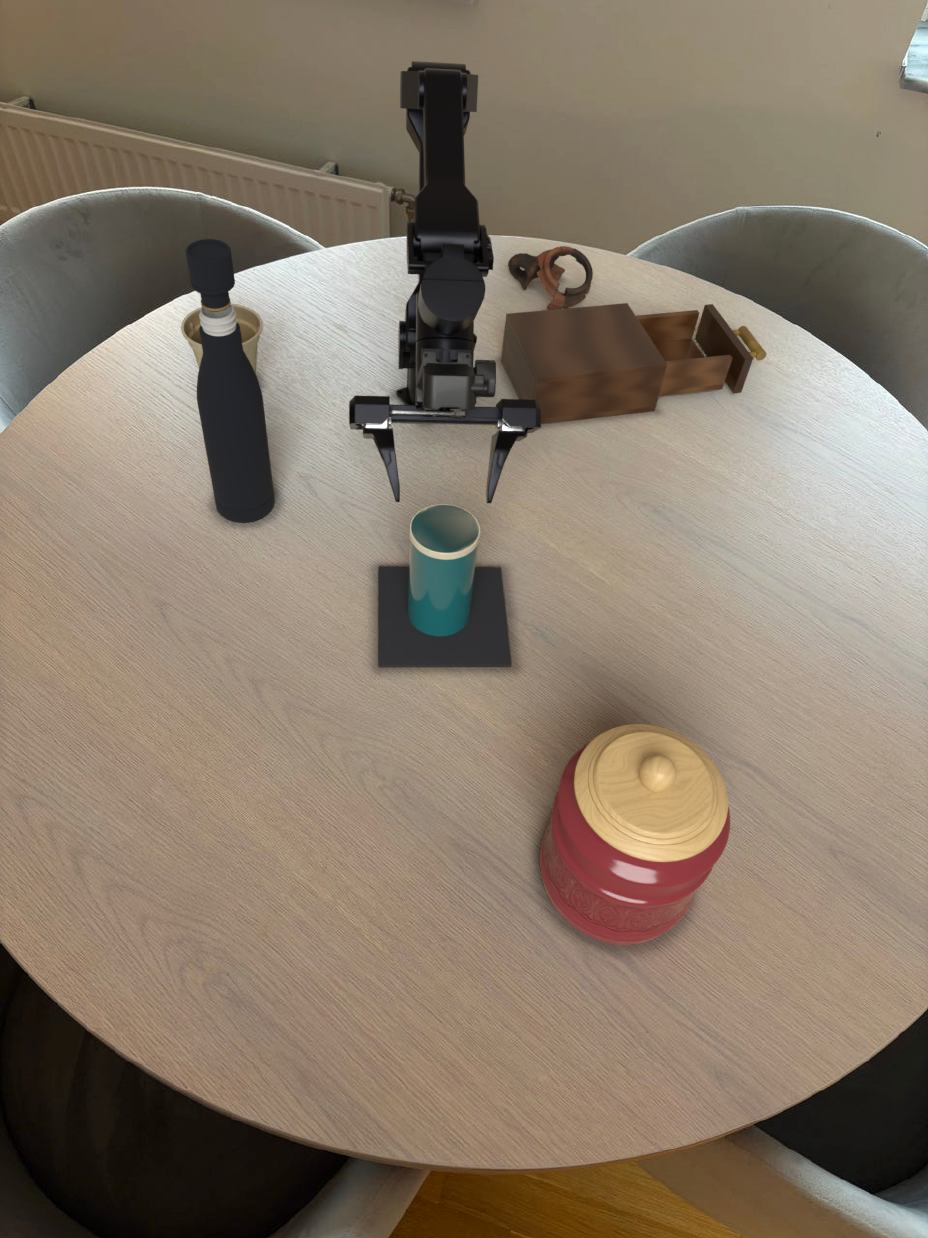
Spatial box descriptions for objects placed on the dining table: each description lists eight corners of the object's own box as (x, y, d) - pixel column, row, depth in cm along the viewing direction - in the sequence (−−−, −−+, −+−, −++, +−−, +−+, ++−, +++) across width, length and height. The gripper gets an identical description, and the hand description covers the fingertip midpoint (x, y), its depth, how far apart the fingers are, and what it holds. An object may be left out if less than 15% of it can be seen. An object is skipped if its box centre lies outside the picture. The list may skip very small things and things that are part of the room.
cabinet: (616, 349, 129) (627, 302, 124) (654, 411, 121) (667, 364, 116) (500, 360, 126) (506, 313, 120) (531, 425, 117) (538, 377, 112)
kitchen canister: (675, 804, 85) (732, 689, 71) (704, 949, 76) (775, 849, 63) (531, 804, 84) (561, 687, 70) (544, 950, 75) (580, 849, 62)
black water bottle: (263, 528, 103) (230, 274, 80) (207, 517, 103) (157, 261, 80) (282, 489, 107) (256, 237, 84) (228, 479, 107) (187, 225, 84)
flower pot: (183, 371, 119) (172, 310, 113) (256, 356, 122) (249, 296, 116) (203, 415, 114) (192, 354, 108) (278, 399, 117) (273, 338, 111)
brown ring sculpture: (576, 279, 141) (601, 247, 133) (571, 335, 139) (595, 307, 131) (501, 255, 138) (521, 222, 130) (494, 313, 135) (514, 283, 128)
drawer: (729, 335, 132) (741, 301, 128) (770, 389, 124) (783, 354, 120) (597, 348, 127) (604, 313, 123) (631, 405, 120) (639, 370, 116)
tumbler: (456, 582, 99) (464, 497, 90) (480, 627, 96) (491, 544, 86) (397, 596, 97) (400, 512, 88) (419, 644, 94) (424, 560, 84)
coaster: (378, 569, 100) (378, 566, 100) (500, 569, 101) (500, 567, 101) (378, 667, 92) (378, 665, 92) (511, 667, 93) (511, 664, 93)
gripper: (347, 323, 85) (347, 499, 86) (552, 329, 87) (549, 501, 88) (350, 346, 96) (350, 502, 97) (533, 351, 98) (530, 504, 99)
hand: (443, 502), depth 95 cm, fingers open, 9 cm apart
